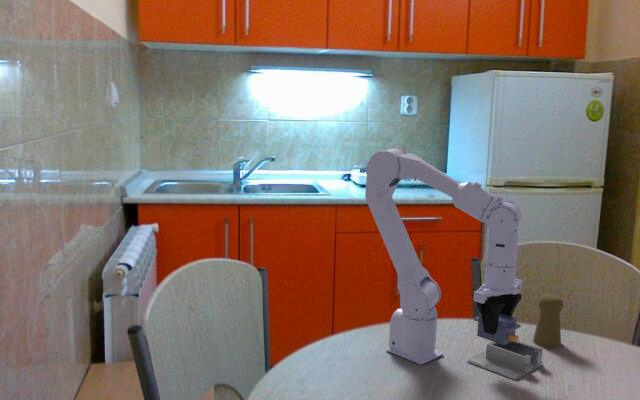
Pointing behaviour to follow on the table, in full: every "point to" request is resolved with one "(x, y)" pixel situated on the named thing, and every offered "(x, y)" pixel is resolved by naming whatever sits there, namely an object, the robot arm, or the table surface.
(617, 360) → the table surface
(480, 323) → the blue-grey long block
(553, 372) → the table surface
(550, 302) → the cork
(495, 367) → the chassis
